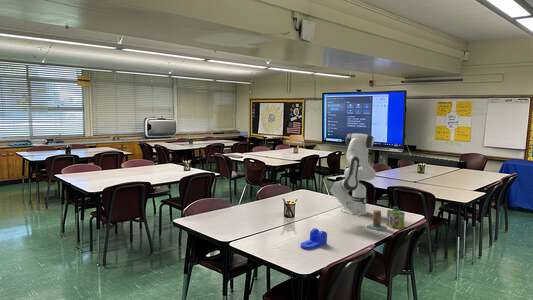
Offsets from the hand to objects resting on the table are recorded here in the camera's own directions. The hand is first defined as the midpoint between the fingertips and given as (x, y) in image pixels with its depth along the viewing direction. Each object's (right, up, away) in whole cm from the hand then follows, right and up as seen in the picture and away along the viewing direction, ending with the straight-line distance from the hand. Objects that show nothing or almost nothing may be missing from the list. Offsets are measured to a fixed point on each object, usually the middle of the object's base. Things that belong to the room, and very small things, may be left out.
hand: (359, 214), depth 259 cm
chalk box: (+27, -9, +2) cm, 29 cm away
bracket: (-40, -12, -39) cm, 57 cm away
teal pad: (+12, -9, -2) cm, 15 cm away
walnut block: (+12, -8, -2) cm, 14 cm away
